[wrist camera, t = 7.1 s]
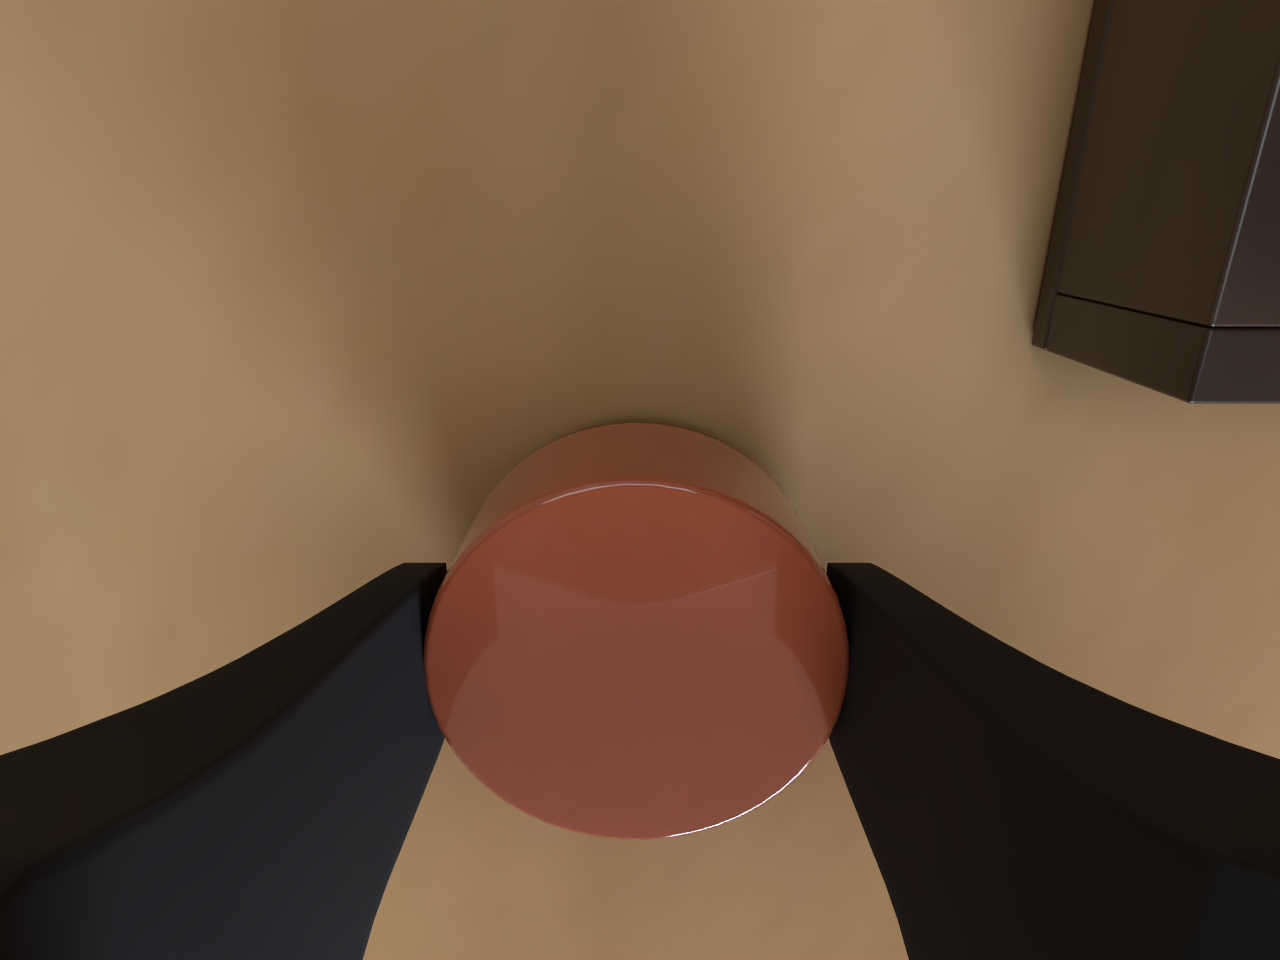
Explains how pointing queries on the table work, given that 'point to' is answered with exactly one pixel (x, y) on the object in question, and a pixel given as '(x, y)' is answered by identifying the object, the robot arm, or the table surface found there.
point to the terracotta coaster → (636, 636)
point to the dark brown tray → (1173, 203)
